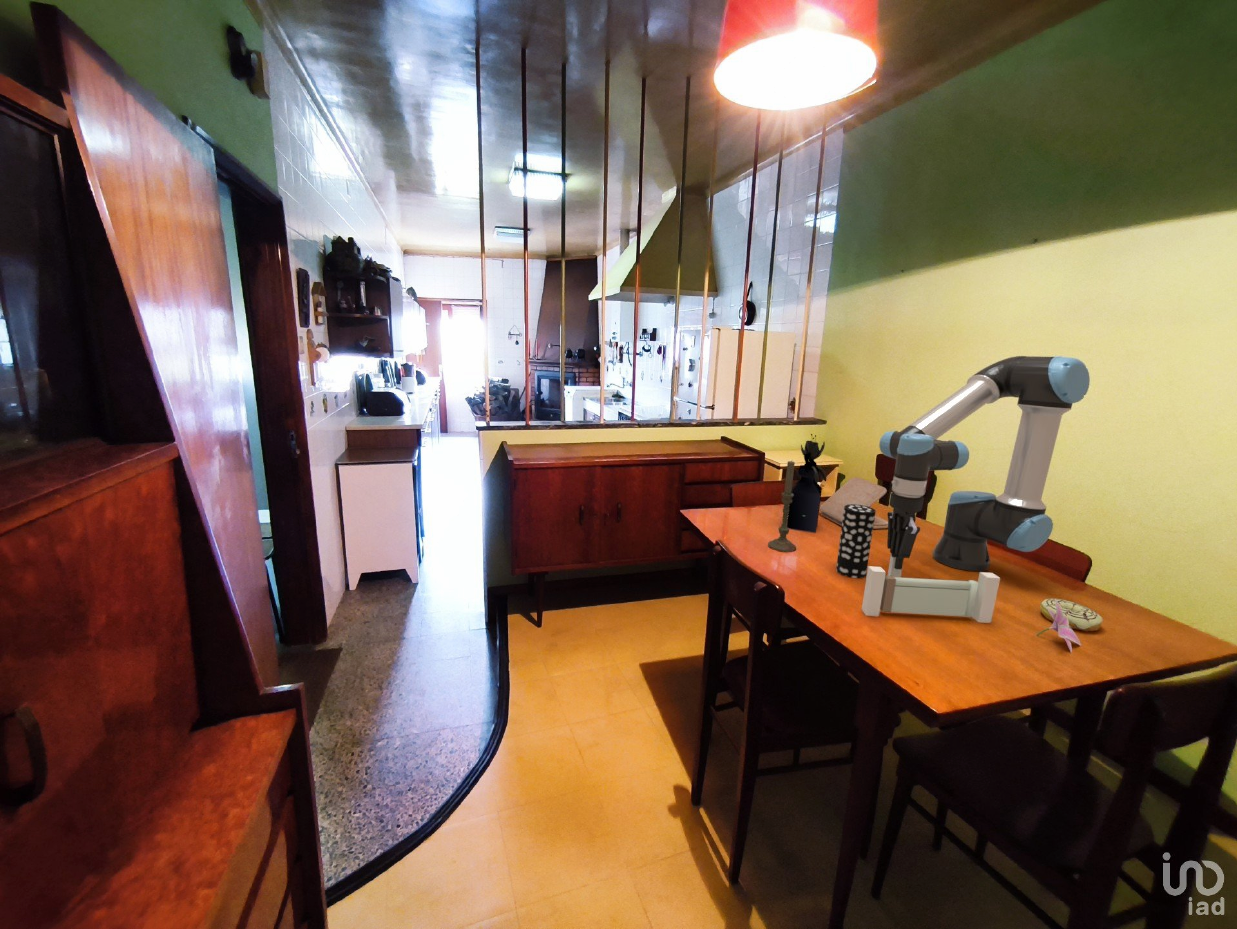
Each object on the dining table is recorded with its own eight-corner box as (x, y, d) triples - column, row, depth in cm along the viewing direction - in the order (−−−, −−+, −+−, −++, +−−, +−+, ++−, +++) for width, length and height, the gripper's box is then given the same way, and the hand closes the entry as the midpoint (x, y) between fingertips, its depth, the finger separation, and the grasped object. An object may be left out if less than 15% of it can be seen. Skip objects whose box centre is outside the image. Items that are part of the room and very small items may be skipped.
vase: (819, 536, 183) (830, 439, 176) (785, 530, 188) (795, 436, 180) (821, 524, 196) (832, 434, 188) (789, 519, 201) (799, 431, 193)
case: (816, 514, 209) (820, 476, 206) (862, 512, 213) (867, 475, 210) (846, 531, 190) (852, 489, 186) (896, 529, 194) (903, 488, 190)
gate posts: (983, 616, 130) (992, 572, 127) (990, 623, 127) (1000, 578, 124) (861, 609, 131) (868, 566, 129) (866, 615, 128) (873, 571, 126)
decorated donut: (1091, 639, 121) (1095, 623, 120) (1031, 617, 131) (1035, 602, 130) (1105, 625, 128) (1109, 610, 127) (1047, 606, 137) (1051, 591, 136)
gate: (968, 613, 129) (975, 580, 127) (973, 617, 127) (980, 583, 125) (879, 608, 130) (884, 575, 128) (882, 612, 128) (887, 578, 126)
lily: (1045, 657, 115) (1079, 633, 110) (1009, 617, 123) (1039, 593, 119) (1075, 664, 118) (1109, 641, 114) (1038, 624, 127) (1069, 602, 123)
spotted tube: (869, 579, 149) (879, 514, 145) (839, 576, 151) (847, 511, 146) (862, 568, 157) (871, 505, 153) (833, 565, 159) (841, 503, 154)
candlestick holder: (781, 553, 166) (791, 463, 160) (762, 544, 174) (770, 457, 168) (802, 549, 170) (812, 461, 164) (782, 540, 178) (791, 455, 172)
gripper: (881, 486, 139) (869, 567, 144) (904, 500, 126) (890, 588, 132) (910, 487, 139) (896, 569, 144) (936, 501, 126) (920, 590, 131)
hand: (893, 578), depth 138 cm, fingers closed
